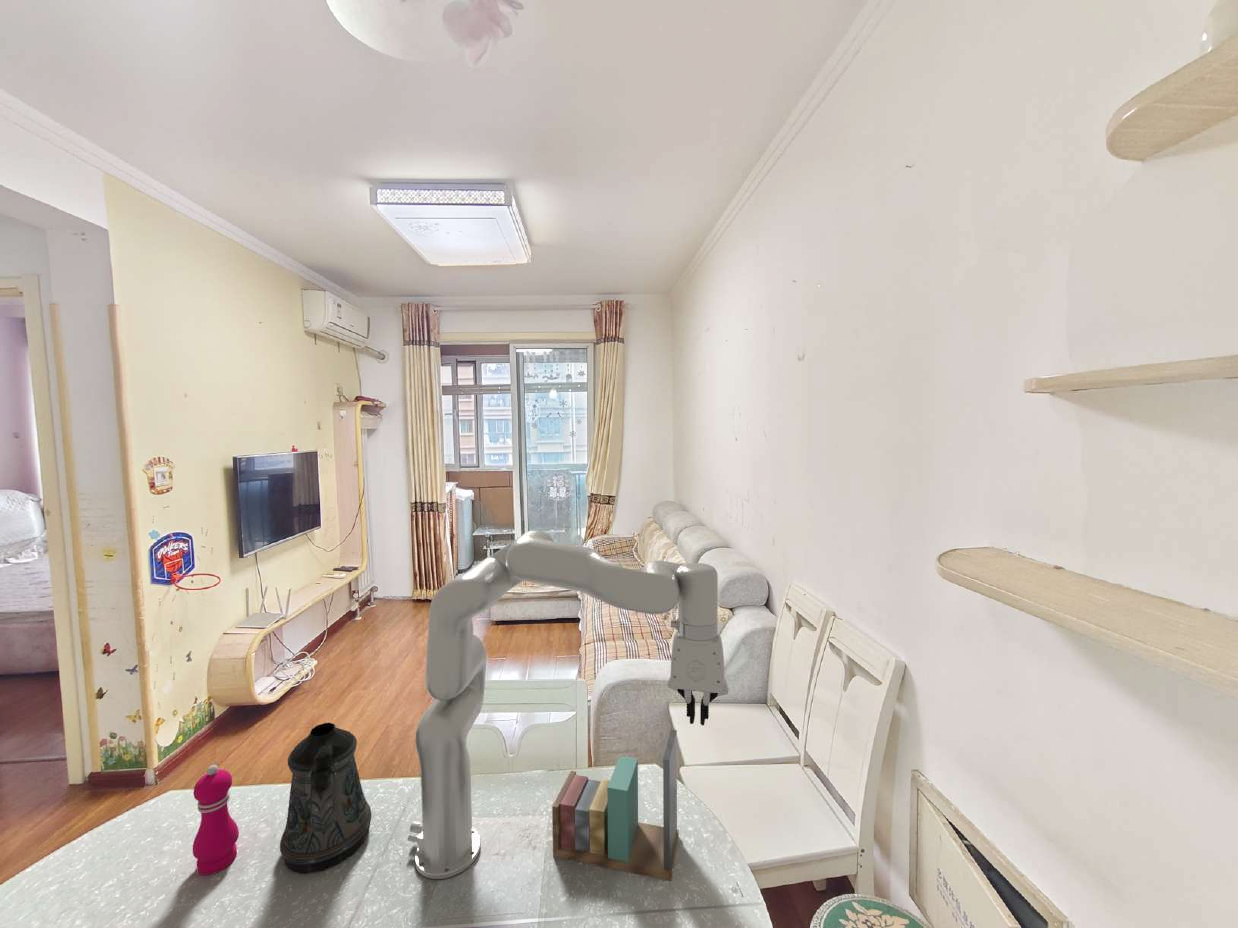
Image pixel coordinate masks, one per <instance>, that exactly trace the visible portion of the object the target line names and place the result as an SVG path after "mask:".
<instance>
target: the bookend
mask: <svg viewBox="0 0 1238 928" xmlns="http://www.w3.org/2000/svg"><path fill="white" fill-rule="evenodd" d="M669 731H670V732H669V736H668V740H667V744H666V748H665V752H664V755H663V759H662V760H663V761H662V763H663V765H662V767H663V768H662V769H663V770H662V773H663V774H662V777H663V778H662V779H663V780H662V781H663V782H662V783H663V785H662V786H663V787H662V789H663V790H662V793H663V795H662V797H663V799H662V800H663V801H662V802H663V807H662V808H663V809H662V810H663V817H662V818H663V823H662V824H663V825H662V827H663V845H664V869H669V870H670V866H671V860H672V855H673V849H674V843H675V838H676V832H677V830H678V783H677V782H678V769H677V768H678V766H677V765H678V761H677V760H678V753H677V752H678V750H677V749H678V741H677V740H678V730H677V729H672V728H671V729H670V730H669Z"/></svg>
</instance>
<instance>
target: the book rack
mask: <svg viewBox="0 0 1238 928" xmlns="http://www.w3.org/2000/svg"><path fill="white" fill-rule="evenodd" d="M609 782H610V779H609V780H608V779H603V778H602V779H601V780H597V779H596V780H594V779H589V776H585V775H579V774H577V771H575V770H574V771H573V770H570V772H569V773H568V775H567V777H566V779H565V781H564V783H563V785H562V787H561V789H560V791H559V793H558V794H557V796H556V798H555V800H554V802H553V804H552V806H551V807H552V808H551V811H552V812H551V813H552V814H551V815H552V856H553V857H555V858H561V859H565V860H570V861H575V862H578V863H579V862H580V863H583V864H587V865H593V866H597V867H603V868H607V869H611V870H615V871H622V872H627V873H631V874H635V875H639V876H646V877H650V878H654V879H658V880H662V881H668V882H671V881H672V878H673V871H674V865H675V860H676V854H677V849H678V843H679V838H680V837H679V833H680V830H679V829H677V832H676V838H675V843H674V849H673V855H672V860H671V866H670V870H669V869H664V845H663V826H661V825H660V826H659V825H654V824H651V823H646V822H645V823H644V822H639V821H638V826H637V830H636V834H635V837H634V841H633V845H632V849H631V852H630V856H629V860H628V862H624V861H619V860H615V859H610V858H608V795H607V787H608V785H609Z"/></svg>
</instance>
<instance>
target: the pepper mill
mask: <svg viewBox="0 0 1238 928" xmlns="http://www.w3.org/2000/svg"><path fill="white" fill-rule="evenodd" d="M232 784H233V777H232V774H231V772H229V771H228V770H225V769H221V768H220V769H219V767H218V765H216V764H212V765H210V766H209V767H208V768H207V769H206V774H204V775H202V776H200V778H199V779H198V780H197V781H196V783H195V785H194V787H193V792H192V793H193V798H194V799H195V800H196V801H197V804H196V805H197V811H198V813H200V815H201V817H200V825H199V828H198V830H197V833H196V834H195V837H194V840H193V843H192V856H193V857H194V858H195V859H196V872H197V873H198V875H200V876H201V875H202V876H209V875H213V874H215V873H218V872H220V871H222V870H224V869H226V868H227V867H228V866H230V865H231V864H232V863H233V862H234V860H235V859H236V858H237V855H238V854H237V853H238V849H237V844H236V843H237V841H238V839H239V836H240V831H239V827H238V825H237V823H236V821H235V820H234V819H233V818H232V816H231V815H230V813H229V812H230V811H229V809H228V808H229V807H228V803H229V801H230V799H231V796H230V795H231V792H230V789H231V788H232V787H231V786H232Z"/></svg>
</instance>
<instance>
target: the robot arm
mask: <svg viewBox="0 0 1238 928" xmlns="http://www.w3.org/2000/svg"><path fill="white" fill-rule="evenodd" d="M718 580H719V578H718V571H717V569H716V568H715V567H714V566H713V565H710V564H706V563H700V562H692V563H677V562H672V561H665V560H653V561H649V562H647V563H646V564H645V565H644V566H643V567H642V568H641V569H640V570H635V569H631V568H627V567H623V566H620V565H618V564H616V563H613V562H612V561H610V560H608V559H607V558H605V557H604V556H603V555H601V554H600V553H599V552H598V551H597V550H594V549H593V548H590V547H587V546H581V545H574V544H569V543H563V542H558V541H555V540H554V539H553V538H552V536H551V535H549V534H548V533H547V532H544V531H543V530H542V531H541V530H530V531H527V532H525V533H523V534H521V536H519V537H517V538H516V539H515V540H513V541H512V542H510V543H509V544H507V545H506V546H504V547H502V548H501V549H499V550H497V551H495V552H494V553H493V554H491V555H489V556H487V557H486V558H484V559H483V560H481V561H480V562H479V563H477V564H476V565H475V566H473V567H472V568H470V569H468V570H467V571H466V572H464V573H463V574H462V575H460V576H458V577H456V578H453V579H452V580H450V581H449V582H447V583H445V584H444V585H442V586H440V588H439V589H438V590H437V591H436V593H435V594H434V596H433V597H432V599H431V602H430V606H429V615H428V633H427V643H426V656H425V657H426V658H425V671H424V683H425V687H426V690H427V692H428V694H429V695H430V696H431V698H433V699H434V700H433V702H432V703H431V704H430V705H429V707H428V708H427V709H426V710H425V712H424V713H423V714H422V716H421V718H420V720H419V722H418V724H417V727H416V729H415V735H414V742H415V748H416V752H417V755H418V760H419V770H420V771H419V772H420V787H421V789H420V790H421V793H420V794H421V821H417V820H416V821H415V820H414V821H412V823H411V824H410V827H409V832H410V833H409V834H408V836H407V842H412V843H416V844H417V849H416V851H415V855H414V864H415V865H414V866H415V867H416V868H415V869H416V870H417V872H418V873H419V874H420V875H421V876H423V877H425V878H428V879H432V880H442V879H443V880H444V879H448V878H451V877H454V876H457V875H458V874H460V873H462V872H464V871H466V869H468V868H469V867H470V866H471V865H472V864H473V863H474V862H475V861H476V859H477V858H478V855H479V853H480V850H481V838H480V837H481V836H480V834H479V832H478V831H477V830H476V829H475V828H473V814H472V809H473V806H472V775H471V774H472V773H471V759H470V753H469V751H468V747H467V738H468V735H469V732H470V731H471V729H472V727H473V725H474V724H475V722H476V720H477V718H478V717H479V715H480V713H481V711H482V708H483V704H484V698H485V685H486V684H485V683H486V672H487V671H486V670H487V651H486V648H485V645H484V642H483V641H482V640H481V639H480V638H479V637H478V636H477V635H476V634H474V623H473V618H474V617H476V616H478V615H481V614H483V613H484V612H486V611H488V610H490V609H492V607H494V606H495V605H496V604H497V602H498V601H500V599H502V597H503V596H504V595H506V593H507V592H508V591H510V590H511V589H513V588H515V587H517V586H518V585H520V584H521V583H523V582H527V583H533V584H538V585H543V586H548V587H555V588H560V589H566V590H570V591H575V592H580V593H583V594H585V595H587V596H589V597H590V598H593V599H595V600H598V601H599V602H602V603H604V604H607V605H609V606H612V607H615V608H618V609H623V610H626V611H632V612H636V613H641V614H648V615H663V614H667V613H669V612H670V611H672V610H673V609H674V608H675V607H676V606H677V607H678V608H677V609H678V613H677V614H678V618H677V619H675V620H671V621H670V628H674V629H676V632H675V633H674V635H673V640H672V644H671V645H672V647H671V657H670V677H669V679H668V682H667V685H666V686H667V687H668V688H669V689H671V690H673V691H675V692H678V694H679V695H680V696H681V698H683V700H684V702H685V703H686V717H688V718H689V724H690V725H693V724H694V723H695V719H696V718H695V717H696V698H695V696H694V694H693V692H699V693H700V692H702V693H703V696H702V698H701V700H700V709H699V710H700V714H699V715H700V717H699V718H700V720H699V721H700V723H699V724H700V725H701V726H705V722H706V720H709V717H710V716H709V713H710V712H709V711H710V709H709V708H710V707H709V706H710V703H711V702H713V701H714V700H715V699H716V698H717V697H722V696H726V695H729V691H730V690H729V686H728V684H727V681H726V678H725V674H726V673H725V657H724V648H723V642H722V637H721V635H720V634H719V633H718V623H719V622H718V612H719V611H718V606H719V605H718V603H719V601H718V600H719V599H718V595H719V593H718V592H719V591H718V587H719V586H718V585H719V584H718V583H719V582H718ZM677 604H678V605H677Z"/></svg>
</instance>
